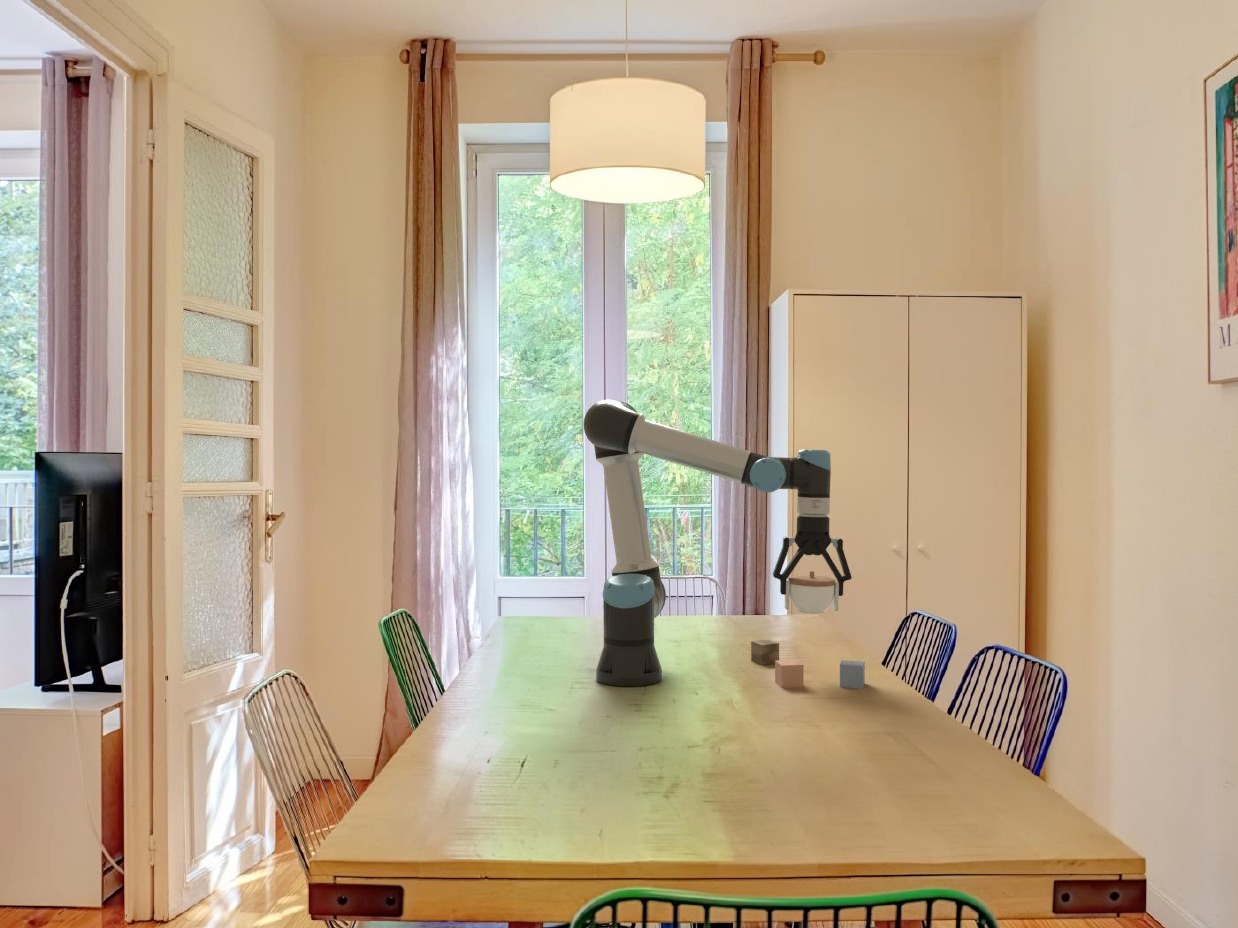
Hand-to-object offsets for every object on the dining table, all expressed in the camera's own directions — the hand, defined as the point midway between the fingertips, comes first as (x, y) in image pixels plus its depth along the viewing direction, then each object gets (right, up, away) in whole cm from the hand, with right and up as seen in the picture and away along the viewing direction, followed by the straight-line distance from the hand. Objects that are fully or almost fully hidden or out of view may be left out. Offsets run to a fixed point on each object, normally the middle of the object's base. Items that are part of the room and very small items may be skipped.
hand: (811, 609), depth 231 cm
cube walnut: (-9, -15, +13) cm, 22 cm away
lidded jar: (0, -1, 0) cm, 1 cm away
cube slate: (+7, -15, -11) cm, 20 cm away
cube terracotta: (-7, -15, -10) cm, 20 cm away
